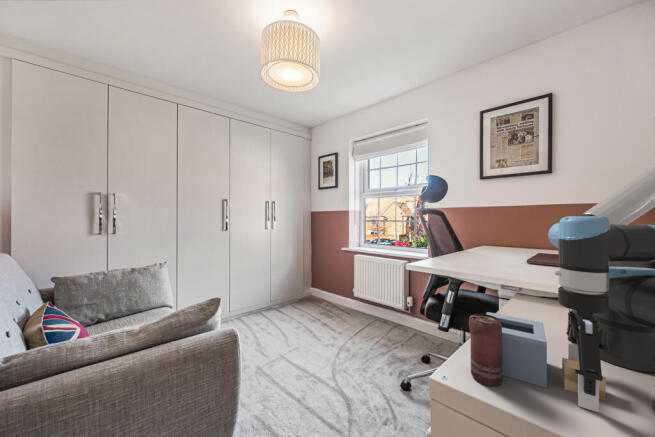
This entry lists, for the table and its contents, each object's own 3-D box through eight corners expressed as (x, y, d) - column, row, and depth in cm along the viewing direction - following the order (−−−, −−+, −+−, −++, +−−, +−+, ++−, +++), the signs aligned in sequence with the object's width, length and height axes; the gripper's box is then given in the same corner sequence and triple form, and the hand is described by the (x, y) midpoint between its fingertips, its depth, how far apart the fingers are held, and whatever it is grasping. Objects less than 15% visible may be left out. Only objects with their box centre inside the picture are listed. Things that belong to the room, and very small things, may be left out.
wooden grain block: (600, 390, 54) (600, 366, 54) (605, 401, 51) (605, 376, 50) (562, 379, 57) (562, 357, 57) (564, 389, 54) (564, 366, 54)
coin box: (543, 361, 64) (542, 322, 64) (546, 388, 54) (546, 342, 54) (487, 347, 71) (486, 311, 71) (481, 368, 62) (481, 327, 62)
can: (467, 367, 62) (467, 311, 62) (498, 373, 60) (497, 314, 60) (471, 383, 56) (471, 321, 56) (505, 390, 54) (505, 325, 54)
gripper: (552, 274, 66) (552, 355, 66) (566, 302, 46) (565, 417, 46) (594, 279, 61) (593, 366, 62) (629, 312, 41) (627, 439, 42)
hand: (581, 388), depth 54 cm, fingers open, 13 cm apart
